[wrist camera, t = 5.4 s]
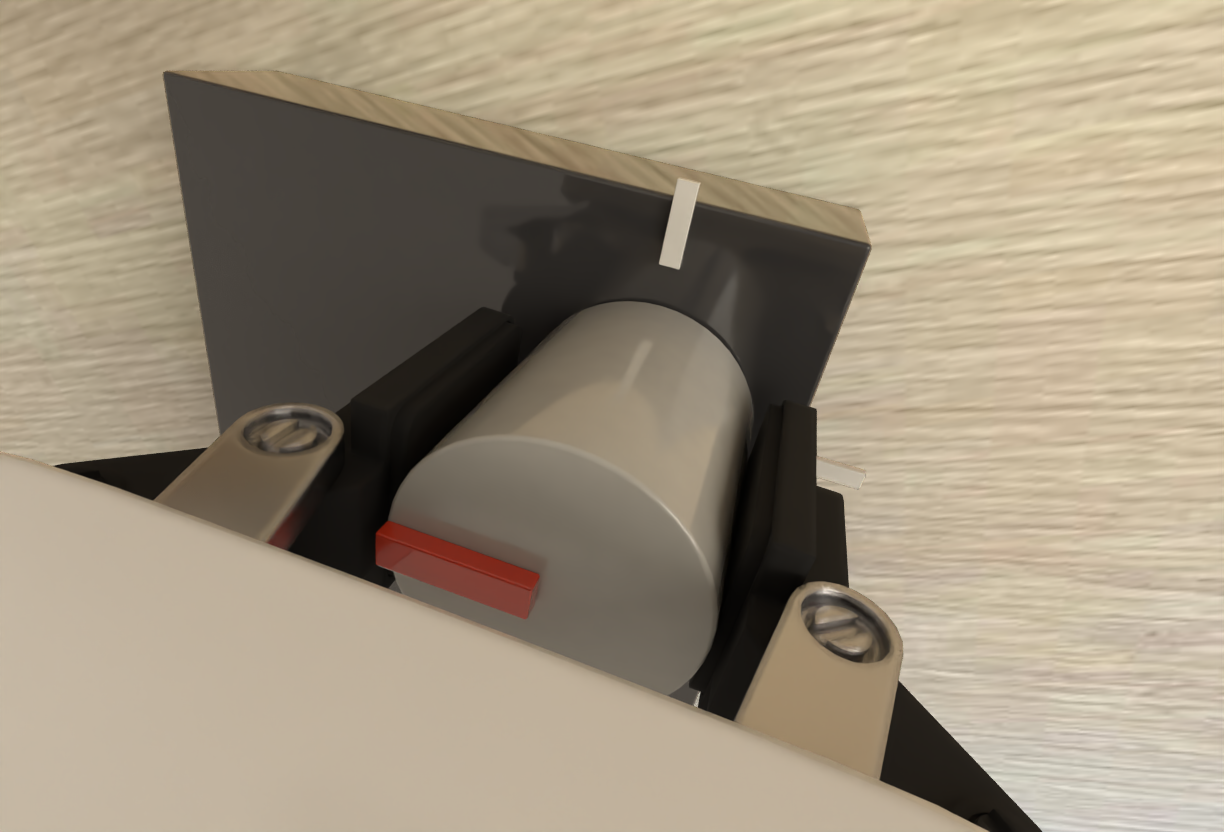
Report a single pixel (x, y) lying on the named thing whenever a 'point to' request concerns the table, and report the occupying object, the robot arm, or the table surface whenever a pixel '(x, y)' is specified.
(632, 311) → the hob knob
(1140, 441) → the table surface
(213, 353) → the dark grey knob base
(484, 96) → the table surface
